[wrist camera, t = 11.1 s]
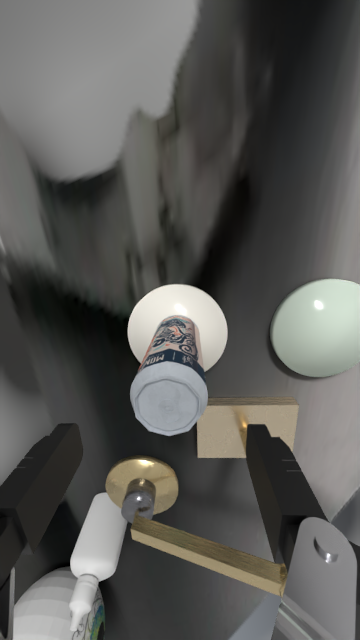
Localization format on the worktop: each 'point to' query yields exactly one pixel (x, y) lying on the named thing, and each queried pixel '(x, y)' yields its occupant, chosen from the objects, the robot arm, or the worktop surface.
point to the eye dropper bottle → (95, 553)
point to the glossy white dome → (179, 303)
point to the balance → (162, 487)
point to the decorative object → (56, 611)
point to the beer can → (171, 379)
